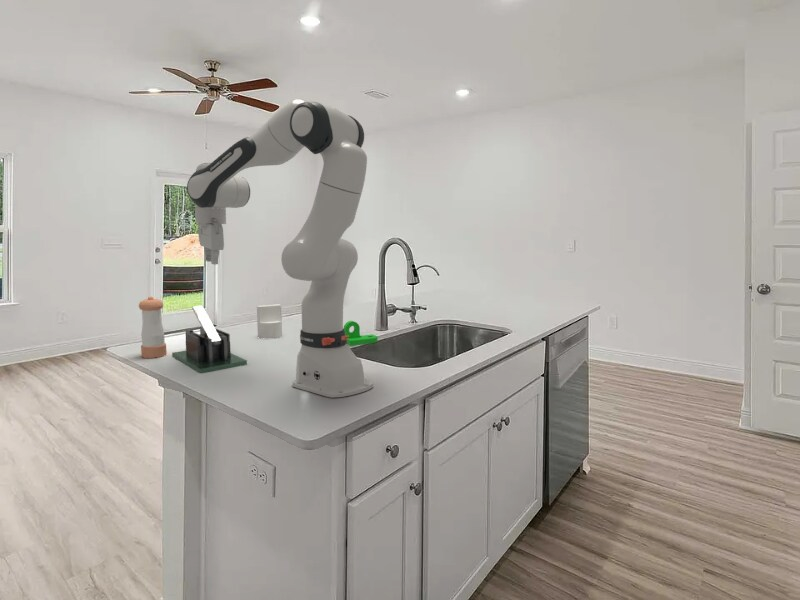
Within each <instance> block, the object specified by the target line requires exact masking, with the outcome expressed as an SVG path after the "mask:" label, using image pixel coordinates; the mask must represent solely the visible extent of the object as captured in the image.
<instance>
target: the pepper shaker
mask: <svg viewBox="0 0 800 600" xmlns="http://www.w3.org/2000/svg"><path fill="white" fill-rule="evenodd" d="M138 308H139V310H141V317H142V319H141V320H142V325H141V334H140V336H141V342H142V343H141V346H140V353H141V354H140V355H141V358H143V357H144V359H156V358H155V357H158V358H162V357H165V356H167V355H166V354H167V353H168V352H167V344H166V342H165V340H166V339H165V331H164V327H163V322H162V321H163V320H162V309H163V308H164V303H163V301H162V300H161V299H157V298H154V297H153V296H148V297H147V299H143V300H141V301H139V303H138ZM164 355H165V356H164ZM161 356H162V357H161Z"/></svg>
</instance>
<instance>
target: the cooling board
mask: <svg viewBox="0 0 800 600" xmlns="http://www.w3.org/2000/svg"><path fill="white" fill-rule="evenodd" d="M215 330H216V332H217V334H218V335H219V337H220V339H221V340H222V342H223V344H222V345H217V346H212V339H211V338H208V337H207V335H206V334H205V332H204V330H203V328H202V326H200V327H199V332H200V334H199V333H196V332H194V330H193V329H190V328H185V350H180V351H175V352H171V353H172V354H171V355H172V357H173V358H174V357H175V358H174V359H176V360H178V361H179V360H180V361H179V362H181V363H183V364H184V363H185V364H184V365H186V366H188V367H189V366H190V367H189V368H191V367H192V368H191V369H193V370H195V371H196V370H197V371H196V372H198V373H200V374H202V372H204V373H208V371H209V372H214V370H215V371H219V370H225V369H229V367H230V368H234V367H235V366H236V367H240V365H241V366H246V365H248V360H246V359H244V358H242V357H240V356H238V355H236V354H233V353H232V352H231V341H230V340H231V339H230V338H231V337H230V333H229V332H225V331H223V330H220V329H218V328H215ZM245 364H246V365H245ZM236 367H235V368H236Z"/></svg>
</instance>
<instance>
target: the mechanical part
mask: <svg viewBox="0 0 800 600" xmlns="http://www.w3.org/2000/svg"><path fill="white" fill-rule="evenodd" d="M352 327H353V330H352V331H351V332H350V329H351V328H352ZM343 329H344V330H345V334H346V335H349V336H348V337H346V338H349V339H348V340H347V345H348V346H359V345H367V344H375V343H378V336H377V335H376V334H364V335H362V334H360V329H361V328H360V324H358V322H356V321H354V320H348V321H347V322H346V323H345V324H343Z"/></svg>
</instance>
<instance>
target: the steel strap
mask: <svg viewBox="0 0 800 600" xmlns="http://www.w3.org/2000/svg"><path fill="white" fill-rule="evenodd" d="M192 311H193V313H194V315H195V316H196V318H197V321H198V323H199V324H200V327H202V328H203V330H204V332H205V334H206V335H207V337H208V338H211V339H212V346H217V345H222V344H223V342H222V340H221V339H220V337H219V335H218V334H217V332H216V330H215V329H216V328H215V326H214V325H213V323H212V321H211V319H210V318H209V315H208V313H207V311H206V310H205V308H204V307H203V305H197V306H196V305H195V306H192Z"/></svg>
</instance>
